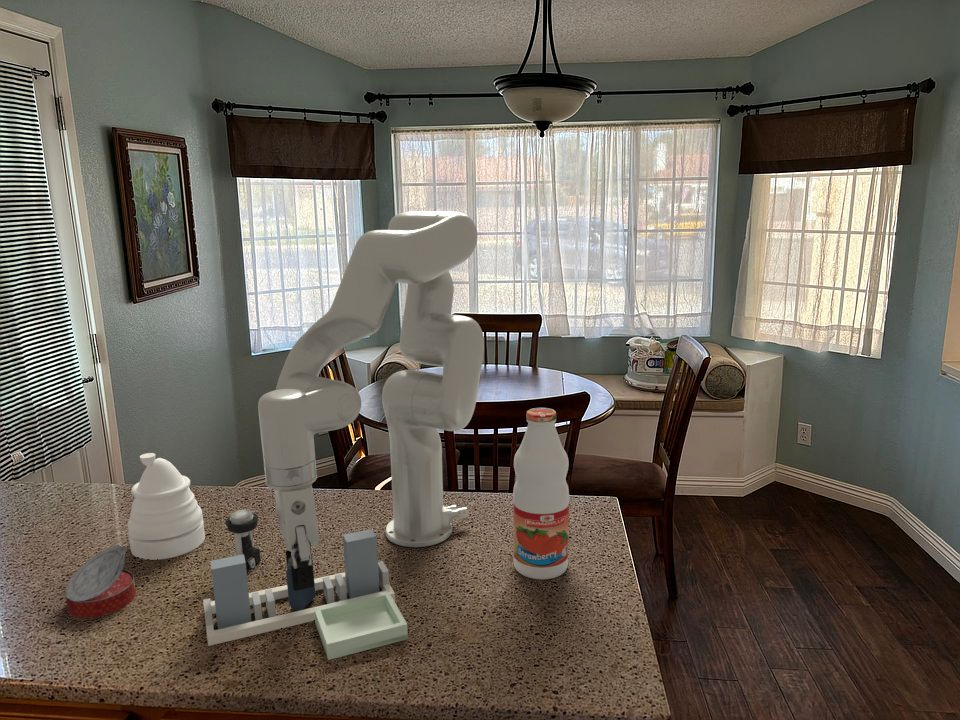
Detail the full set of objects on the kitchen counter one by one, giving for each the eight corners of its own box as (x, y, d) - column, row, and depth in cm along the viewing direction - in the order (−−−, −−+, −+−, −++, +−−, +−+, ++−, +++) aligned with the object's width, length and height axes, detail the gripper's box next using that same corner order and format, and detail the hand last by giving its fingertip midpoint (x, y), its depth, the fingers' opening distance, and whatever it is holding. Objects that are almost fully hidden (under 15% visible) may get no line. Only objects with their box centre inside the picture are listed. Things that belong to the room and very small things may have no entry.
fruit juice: (563, 552, 129) (565, 402, 123) (572, 580, 120) (574, 419, 114) (511, 554, 129) (510, 403, 123) (515, 582, 120) (515, 421, 114)
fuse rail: (378, 572, 124) (375, 518, 121) (395, 601, 115) (392, 543, 113) (204, 611, 113) (197, 552, 111) (208, 646, 104) (200, 583, 102)
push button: (244, 580, 122) (238, 526, 119) (218, 575, 124) (212, 521, 121) (268, 562, 128) (263, 509, 125) (244, 557, 130) (238, 505, 127)
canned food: (130, 633, 116) (120, 599, 109) (61, 634, 114) (47, 600, 107) (146, 571, 124) (139, 536, 118) (83, 571, 122) (71, 536, 116)
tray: (389, 605, 114) (388, 591, 113) (407, 639, 105) (407, 623, 105) (315, 623, 109) (314, 608, 109) (328, 660, 101) (327, 644, 100)
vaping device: (318, 594, 116) (313, 526, 113) (300, 612, 112) (294, 542, 109) (305, 591, 117) (298, 524, 114) (286, 609, 112) (279, 539, 109)
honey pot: (159, 566, 127) (146, 470, 123) (116, 548, 134) (102, 456, 129) (219, 537, 137) (210, 447, 133) (176, 521, 144) (166, 436, 140)
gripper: (327, 487, 103) (336, 601, 107) (305, 449, 118) (314, 550, 122) (272, 497, 100) (284, 614, 104) (258, 456, 115) (269, 560, 120)
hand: (300, 578), depth 113 cm, fingers closed on vaping device, 4 cm apart
